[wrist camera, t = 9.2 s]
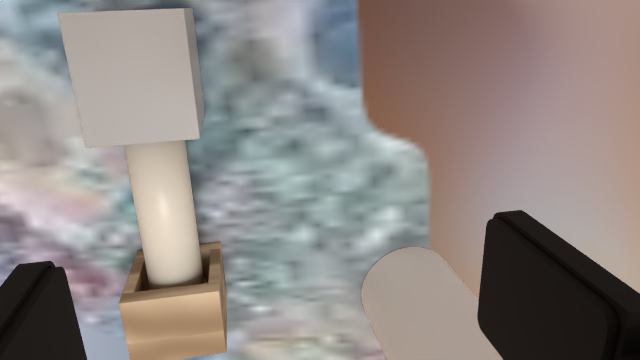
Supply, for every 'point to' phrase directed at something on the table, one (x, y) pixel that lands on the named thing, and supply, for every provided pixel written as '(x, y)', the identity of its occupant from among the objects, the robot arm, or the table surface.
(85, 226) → the table surface
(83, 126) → the grey block
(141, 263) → the socket
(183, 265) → the tube
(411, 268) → the cylinder container
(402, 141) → the table surface
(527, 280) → the robot arm
